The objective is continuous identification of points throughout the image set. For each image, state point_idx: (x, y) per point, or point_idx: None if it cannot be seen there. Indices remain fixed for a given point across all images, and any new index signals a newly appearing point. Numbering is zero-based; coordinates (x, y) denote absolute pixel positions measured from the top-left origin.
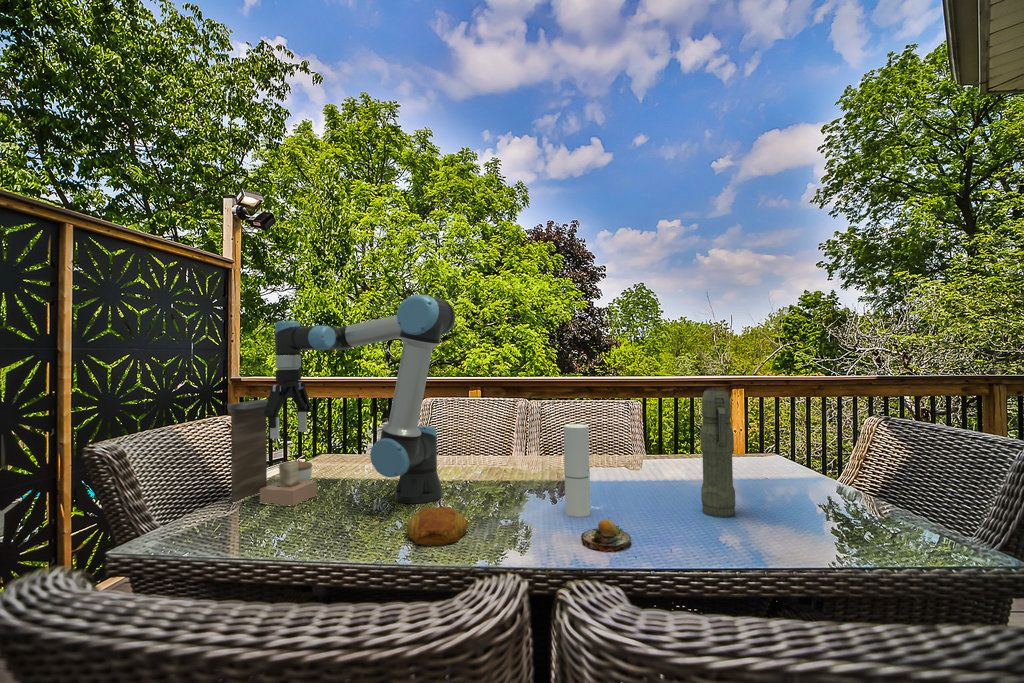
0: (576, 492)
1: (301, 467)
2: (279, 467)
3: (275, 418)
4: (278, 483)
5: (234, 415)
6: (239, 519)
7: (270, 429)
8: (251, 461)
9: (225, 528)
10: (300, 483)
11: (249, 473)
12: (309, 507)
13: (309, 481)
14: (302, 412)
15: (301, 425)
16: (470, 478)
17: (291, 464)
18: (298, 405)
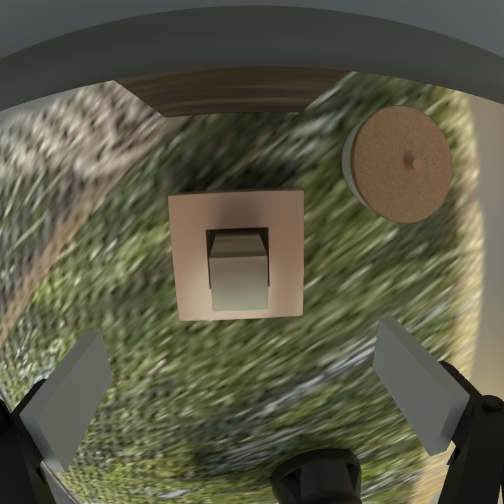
0: None
1: (379, 212)
2: (210, 255)
3: (43, 451)
4: (246, 207)
5: None
6: (73, 236)
7: (64, 362)
8: (230, 81)
9: (30, 253)
10: (269, 279)
11: (219, 95)
12: (197, 340)
13: (292, 296)
14: (436, 437)
15: (392, 365)
16: (429, 470)
17: (221, 310)
18: (455, 477)
